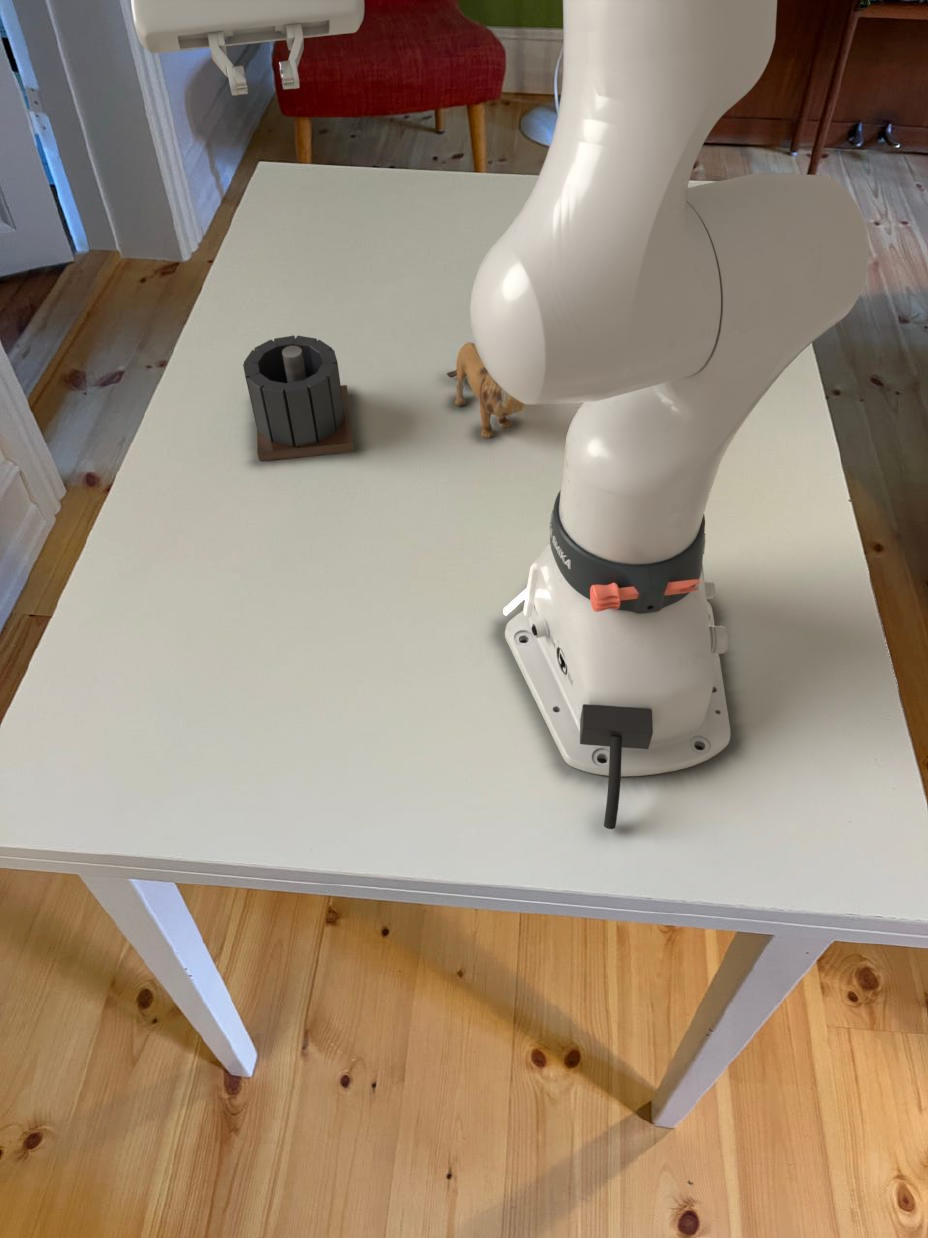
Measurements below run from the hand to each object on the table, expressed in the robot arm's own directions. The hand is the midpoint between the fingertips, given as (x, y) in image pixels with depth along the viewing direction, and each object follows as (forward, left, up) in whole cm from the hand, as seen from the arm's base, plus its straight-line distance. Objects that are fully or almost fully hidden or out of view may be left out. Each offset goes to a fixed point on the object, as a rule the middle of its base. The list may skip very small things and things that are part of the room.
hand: (265, 88), depth 83 cm
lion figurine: (-10, -19, -31) cm, 38 cm away
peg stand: (-9, +1, -31) cm, 32 cm away
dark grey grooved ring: (-9, +1, -29) cm, 31 cm away
